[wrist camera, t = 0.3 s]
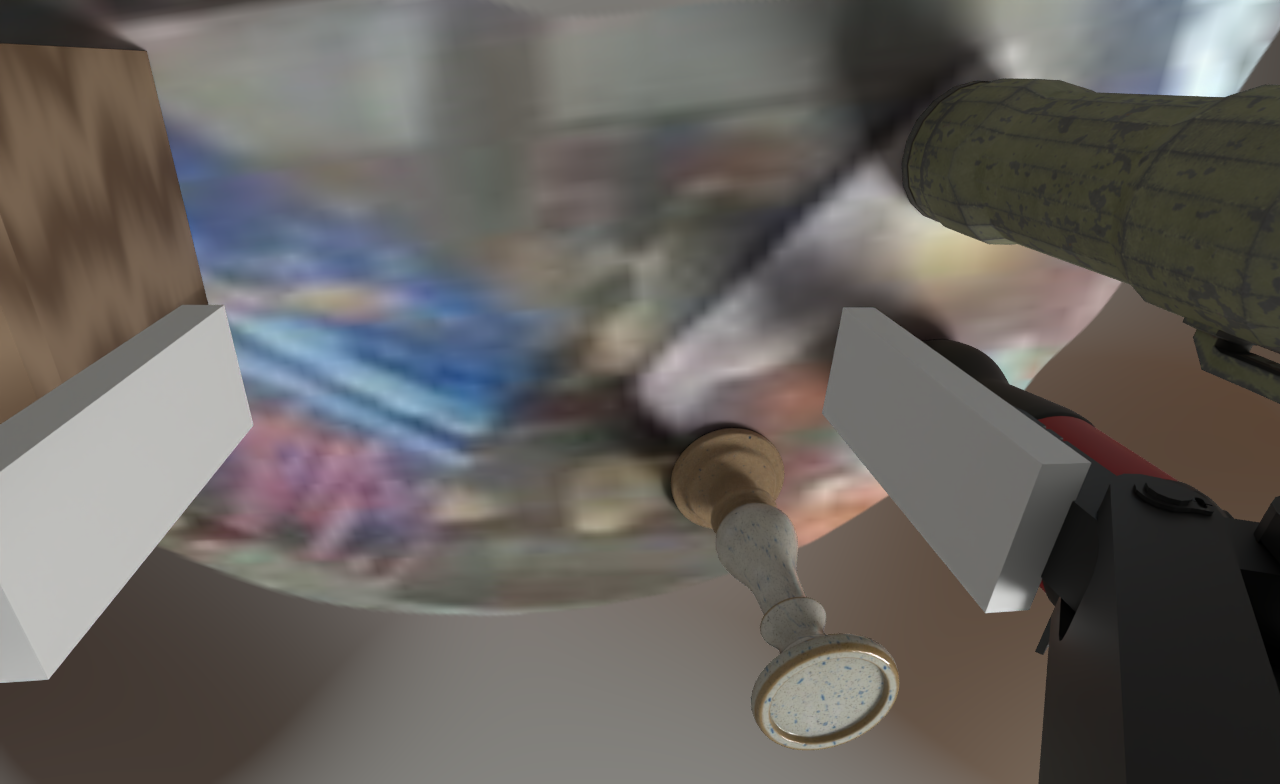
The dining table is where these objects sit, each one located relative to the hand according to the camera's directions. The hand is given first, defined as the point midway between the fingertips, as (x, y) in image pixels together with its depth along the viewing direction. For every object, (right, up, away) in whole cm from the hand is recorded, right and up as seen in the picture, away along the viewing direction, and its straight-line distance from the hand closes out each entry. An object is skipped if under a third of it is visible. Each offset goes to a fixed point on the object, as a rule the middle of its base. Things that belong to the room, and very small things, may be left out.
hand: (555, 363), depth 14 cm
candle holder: (+8, -7, +36) cm, 38 cm away
